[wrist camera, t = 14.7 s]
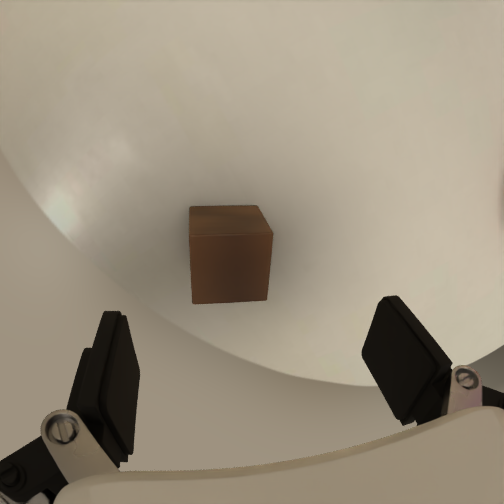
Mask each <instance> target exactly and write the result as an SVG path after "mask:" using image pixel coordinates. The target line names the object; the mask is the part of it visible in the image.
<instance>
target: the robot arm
mask: <svg viewBox="0 0 504 504" xmlns="http://www.w3.org/2000/svg"><path fill="white" fill-rule="evenodd" d="M362 358H363V360H364V361H365V363H366V365H367V367H368V369H369V370H370V372H371V374H372V376H373V377H374V379H375V381H376V383H377V385H378V387H379V388H380V390H381V391H382V394H383V395H384V397H385V399H386V401H387V403H388V405H389V407H390V408H391V410H392V412H393V414H394V416H395V417H396V419H398V420H400V422H401V423H402V425H403V426H404V425H406V424H410V423H412V422H414V421H415V420H416V422H417V426H416V427H413V428H411V429H408V430H405V431H402V432H399V433H397V434H393V435H390V436H387V437H384V438H381V439H378V440H374V441H371V442H367V443H364V444H361V445H357V446H353V447H349V448H345V449H341V450H337V451H333V452H329V453H325V454H320V455H315V456H311V457H306V458H300V459H295V460H289V461H282V462H276V463H269V464H263V465H254V466H246V467H236V468H222V469H208V470H184V471H125V472H120V471H119V470H118V468H119V467H120V462H128V455H132V454H133V449H134V433H135V420H136V409H137V399H138V389H139V380H140V369H139V365H138V361H137V357H136V354H135V350H134V346H133V342H132V338H131V334H130V329H129V325H128V321H127V317H126V316H125V315H121V312H120V311H104V313H103V315H102V318H101V321H100V324H99V327H98V330H97V333H96V337H95V340H94V343H93V346H92V348H85V349H84V351H83V353H82V356H81V359H80V362H79V366H78V369H77V372H76V376H75V379H74V383H73V386H72V390H71V393H70V397H69V401H68V405H67V409H66V410H64V409H63V410H56V411H54V412H51V413H50V414H49V415H47V416H46V417H45V419H44V420H43V422H42V425H41V436H40V437H38V438H37V439H35V440H33V441H32V442H30V443H29V444H27V445H25V446H24V447H22V448H21V449H19V450H17V451H16V452H14V453H13V454H11V455H9V456H7V457H6V458H4V459H3V460H1V461H0V504H504V393H501V392H499V391H496V390H493V389H491V388H487V387H485V386H482V380H481V377H480V375H479V374H478V373H477V372H476V371H475V370H474V369H473V368H471V367H468V366H465V365H459V366H456V367H455V368H454V369H453V370H452V369H451V365H452V361H451V360H450V359H449V358H448V356H447V355H446V354H445V352H444V351H443V350H442V349H441V347H440V346H439V345H438V343H437V342H436V341H435V340H434V338H433V337H432V336H431V335H430V333H429V332H428V331H427V330H426V329H425V327H424V326H423V325H422V324H421V322H420V321H419V320H418V319H417V318H416V316H415V315H414V314H413V313H412V312H411V310H410V309H409V308H408V307H407V306H406V305H405V303H404V302H403V301H402V300H401V299H400V297H398V296H396V295H395V296H386V297H383V298H382V300H381V301H380V302H379V303H378V305H377V308H376V311H375V314H374V317H373V320H372V323H371V326H370V329H369V332H368V335H367V337H366V340H365V343H364V346H363V348H362Z"/></svg>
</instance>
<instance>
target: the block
mask: <svg viewBox="0 0 504 504" xmlns="http://www.w3.org/2000/svg"><path fill="white" fill-rule="evenodd" d="M272 243H273V232H272V230H271V228H270V226H269V225H268V223H267V221H266V220H265V218H264V216H263V214H262V213H261V211H260V209H259V207H258V206H195V207H190V208H189V247H190V270H191V289H192V303H193V304H213V303H232V302H250V301H265V300H267V295H268V285H269V275H270V265H271V254H272Z"/></svg>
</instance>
